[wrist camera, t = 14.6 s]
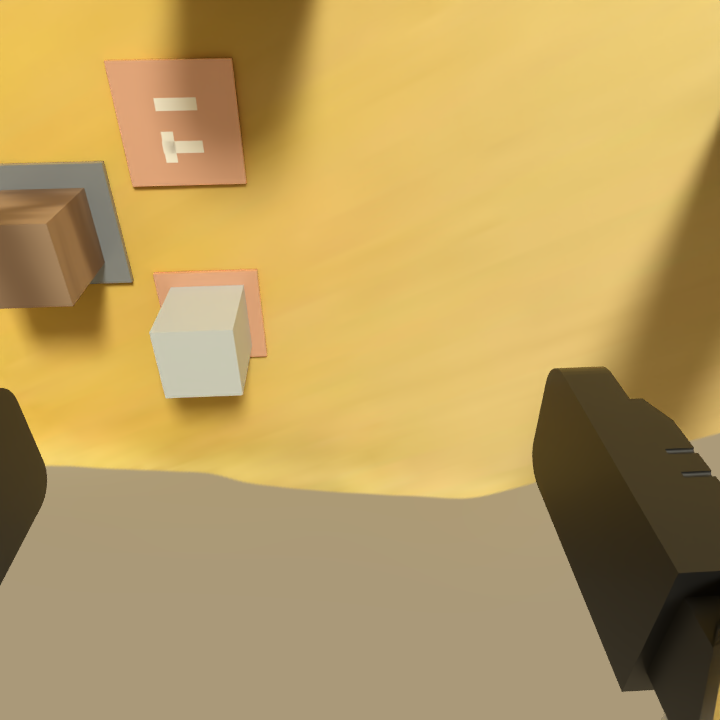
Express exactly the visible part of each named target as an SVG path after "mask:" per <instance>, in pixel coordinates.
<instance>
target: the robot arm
mask: <svg viewBox="0 0 720 720" xmlns="http://www.w3.org/2000/svg"><path fill="white" fill-rule="evenodd" d="M693 449H694V447H693V446H692V445H691V443H690V442H689V441H688V439H687V438H686V437H685V435H684V434H683V433H682V432H681V430H680V429H679V428H678V426H677V425H676V424H675V422H674V421H673V420H672V419H670V418H669V417H667V416H666V415H664V414H663V413H662V412H660V411H659V410H657V409H656V408H655V407H653V406H652V405H650V404H649V403H648V402H646V401H645V400H643V399H629V397H628V396H627V395H626V393H625V392H624V390H623V389H622V387H621V386H620V385H619V383H618V382H617V380H616V379H615V377H614V376H613V375H612V373H611V372H610V371H609V370H608V369H607V368H605V367H581V368H555V369H552V370H551V371H550V373H549V375H548V377H547V381H546V385H545V390H544V395H543V399H542V404H541V409H540V414H539V419H538V423H537V428H536V433H535V438H534V443H533V452H532V458H533V469H534V474H535V479H536V482H537V485H538V488H539V490H540V492H541V495H542V497H543V500H544V502H545V505H546V507H547V509H548V512H549V514H550V517H551V519H552V522H553V524H554V527H555V529H556V531H557V534H558V536H559V539H560V541H561V544H562V546H563V549H564V551H565V554H566V556H567V558H568V561H569V563H570V566H571V568H572V571H573V573H574V576H575V578H576V580H577V583H578V585H579V588H580V590H581V593H582V595H583V598H584V600H585V602H586V605H587V607H588V610H589V612H590V615H591V617H592V620H593V622H594V624H595V627H596V629H597V632H598V634H599V637H600V639H601V642H602V644H603V647H604V649H605V651H606V654H607V656H608V659H609V661H610V664H611V666H612V668H613V671H614V673H615V676H616V678H617V681H618V683H619V686H620V688H621V690H622V692H623V691H640V690H655V692H656V694H657V697H658V699H659V701H660V703H661V706H662V708H663V710H664V712H665V714H664V716H663V717H662V719H661V720H720V481H719V480H718V479H717V478H716V477H715V476H714V477H712V476H711V470H710V468H709V467H708V466H707V464H706V463H705V462H704V460H703V459H702V458H701V457H700V455H699V454H698V453H694V450H693ZM46 487H47V474H46V468H45V464H44V461H43V459H42V457H41V454H40V452H39V450H38V447H37V445H36V443H35V441H34V438H33V436H32V434H31V431H30V429H29V427H28V424H27V422H26V420H25V417H24V415H23V413H22V410H21V408H20V406H19V404H18V401H17V399H16V397H15V396H14V395H13V393H12V392H10V391H9V390H7V389H5V388H0V585H1V582H2V581H3V579H4V577H5V575H6V573H7V571H8V569H9V567H10V565H11V563H12V562H13V560H14V558H15V556H16V554H17V552H18V550H19V548H20V546H21V544H22V542H23V540H24V538H25V537H26V535H27V533H28V531H29V529H30V527H31V525H32V523H33V521H34V519H35V517H36V515H37V514H38V512H39V510H40V508H41V506H42V503H43V501H44V498H45V493H46Z"/></svg>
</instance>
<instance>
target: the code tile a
mask: <svg viewBox="0 0 720 720" xmlns="http://www.w3.org/2000/svg"><path fill="white" fill-rule="evenodd" d="M104 63H105V68H106V72H107V76H108V81H109V85H110V89H111V94H112V98H113V102H114V107H115V111H116V115H117V120H118V124H119V128H120V133H121V137H122V142H123V146H124V150H125V155H126V159H127V163H128V168H129V172H130V176H131V181H132V185H133V187H137V186H175V185H213V184H246V183H247V180H246V172H245V163H244V155H243V146H242V138H241V130H240V121H239V113H238V104H237V96H236V88H235V79H234V71H233V62H232V58H201V59H145V60H105V61H104Z"/></svg>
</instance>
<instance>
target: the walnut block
mask: <svg viewBox="0 0 720 720" xmlns="http://www.w3.org/2000/svg"><path fill="white" fill-rule="evenodd" d="M104 263H105V261H104V257H103V254H102V250H101V246H100V243H99V239H98V236H97V232H96V228H95V225H94V221H93V218H92V214H91V210H90V207H89V203H88V200H87V196H86V193H85V189H84V188H60V189H22V190H1V191H0V309H4V308H33V307H62V306H74V304H75V303H76V301H77V300H78V299H79V297H80V296H81V295H82V293H83V292H84V290H85V289H86V288H87V286H88V285H89V284H90V282H91V281H92V279H93V278H94V277H95V275H96V274H97V273H98V271H99V270H100V269H101V267H102V266H103V264H104Z"/></svg>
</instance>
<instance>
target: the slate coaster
mask: <svg viewBox="0 0 720 720" xmlns="http://www.w3.org/2000/svg"><path fill="white" fill-rule="evenodd" d="M60 188H84V189H85V193H86V196H87V200H88V203H89V207H90V210H91V214H92V218H93V221H94V225H95V228H96V232H97V236H98V239H99V243H100V246H101V250H102V254H103V257H104V261H105V263H104V264H103V266H102V267H101V269H100V270H99V271H98V273H97V274H96V275H95V277H94V278H93V279H92V281H91V282H90V284H99V283H130V282H133V276H132V272H131V268H130V264H129V260H128V256H127V252H126V248H125V244H124V240H123V236H122V232H121V228H120V224H119V220H118V216H117V212H116V208H115V204H114V200H113V196H112V192H111V188H110V184H109V180H108V177H107V173H106V169H105V165H104V161H93V162H52V163H11V164H0V191H1V190H22V189H60Z"/></svg>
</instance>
